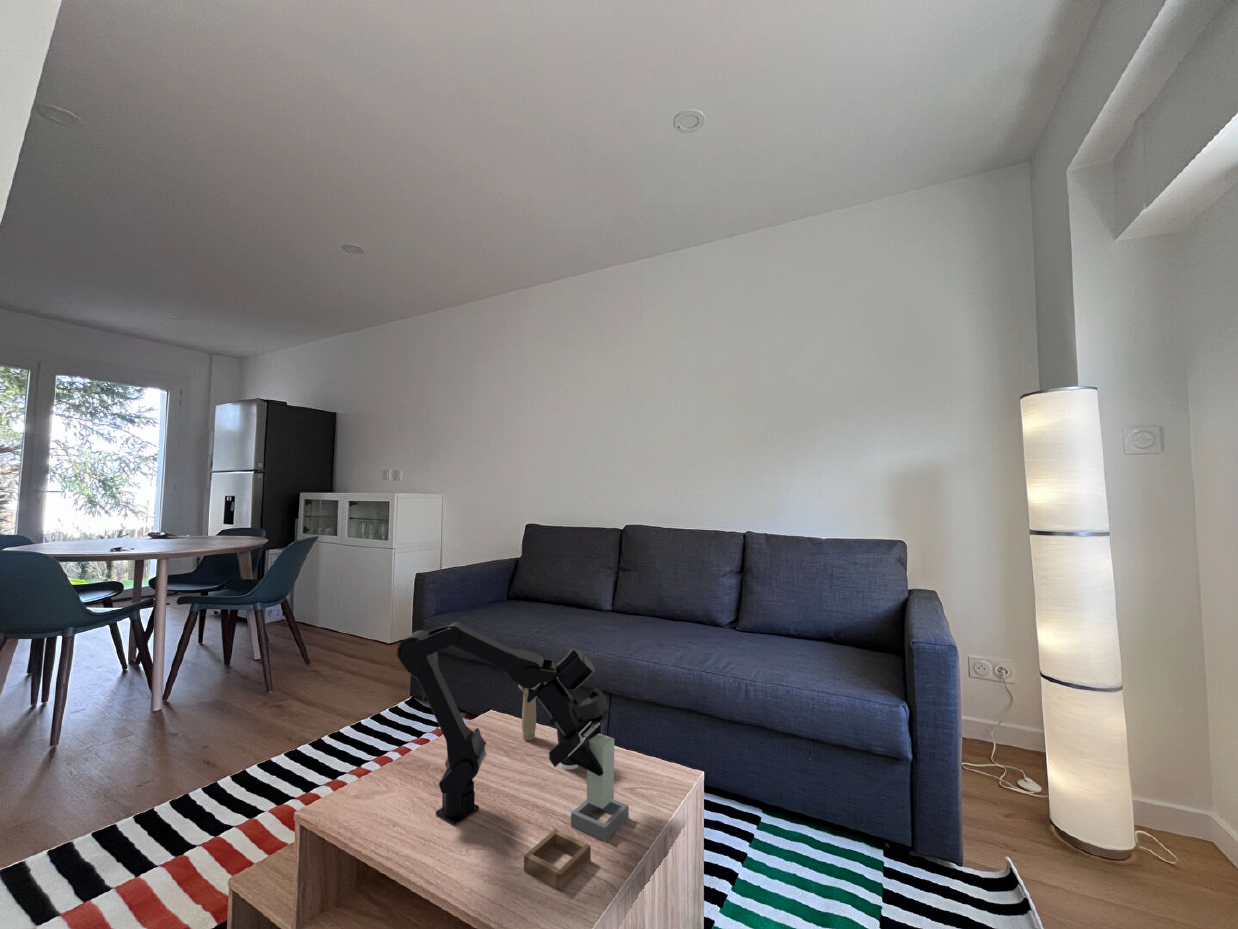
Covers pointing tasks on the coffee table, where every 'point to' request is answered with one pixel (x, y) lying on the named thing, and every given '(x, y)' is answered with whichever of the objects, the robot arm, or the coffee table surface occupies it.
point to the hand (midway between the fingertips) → (606, 768)
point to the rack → (550, 872)
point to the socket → (596, 827)
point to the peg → (603, 786)
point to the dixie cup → (567, 764)
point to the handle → (528, 716)
